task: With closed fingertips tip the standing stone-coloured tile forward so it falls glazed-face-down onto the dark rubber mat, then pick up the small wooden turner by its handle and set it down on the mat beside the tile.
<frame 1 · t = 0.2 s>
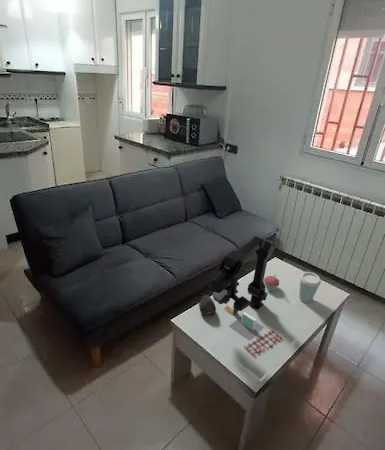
hand: (226, 309, 137), 14 cm above the table, fingers open, 9 cm apart
cupcake: (270, 288, 175), on the table
red lattice rack: (262, 346, 139), on the table
mat: (246, 327, 147), on the table
turner: (234, 314, 154), on the table
disposable coffee cup: (304, 299, 168), on the table
stone: (206, 312, 155), on the table
tile: (247, 325, 147), point 1 cm above the table, touching mat
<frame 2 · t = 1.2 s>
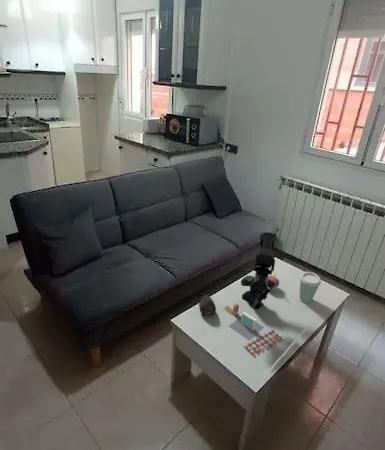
hand: (255, 304, 146), 11 cm above the table, fingers open, 5 cm apart
nothing on the table moved.
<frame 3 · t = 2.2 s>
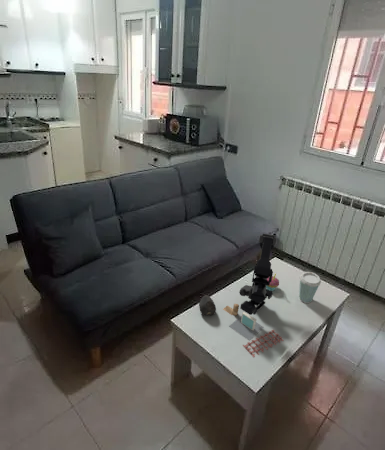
hand: (254, 313, 148), 5 cm above the table, fingers closed
nothing on the table moved.
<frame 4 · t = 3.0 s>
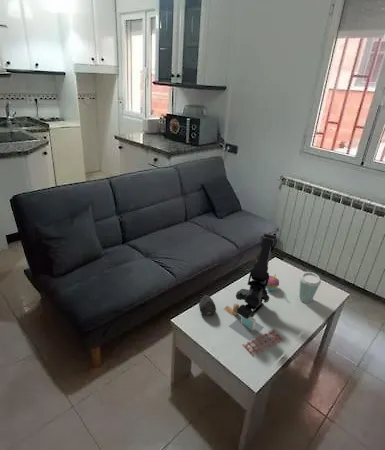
hand: (250, 317, 147), 5 cm above the table, fingers closed
nothing on the table moved.
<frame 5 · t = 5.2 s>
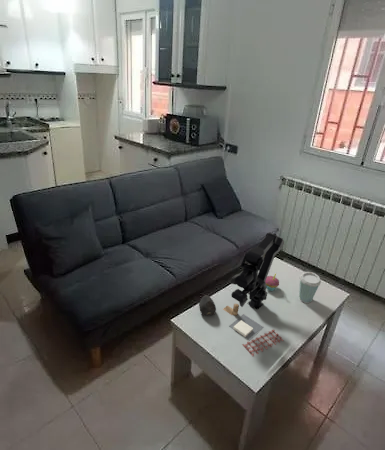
hand: (246, 302, 146), 11 cm above the table, fingers open, 7 cm apart
tile: (246, 325, 146), point 1 cm above the table, tilted 90°, touching mat
everything else where it was.
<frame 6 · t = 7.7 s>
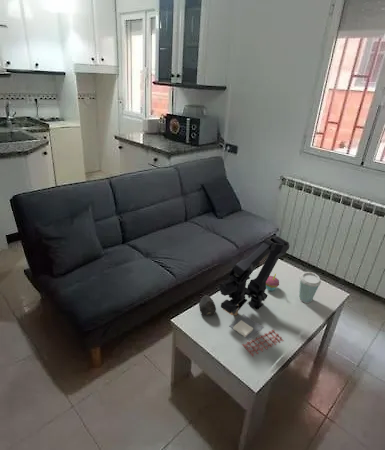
hand: (235, 312, 154), 2 cm above the table, fingers closed on turner, 3 cm apart
turner: (234, 314, 154), on the table, touching gripper
everything else where it was.
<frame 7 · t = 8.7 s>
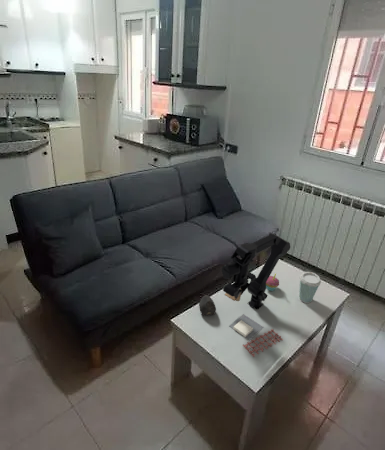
hand: (237, 296, 149), 11 cm above the table, fingers closed on turner, 3 cm apart
turner: (237, 299, 150), point 10 cm above the table, touching gripper
everything else where it was.
when the fingers open (4 cm above the table, at t = 11.1 s): turner drops 1 cm, resting on mat.
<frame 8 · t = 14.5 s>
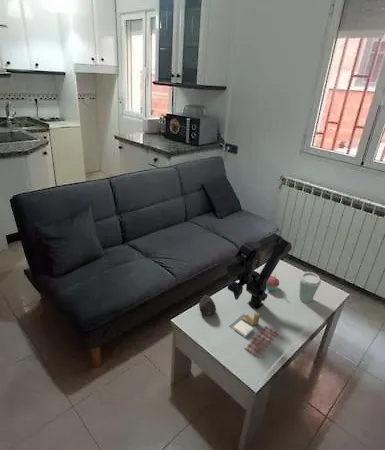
hand: (241, 295, 150), 12 cm above the table, fingers open, 9 cm apart
turner: (255, 324, 149), point 1 cm above the table, touching mat
at the end: tile tilted 90°; turner 0.3 cm from the target spot, point 0.6 cm above the table; turner tilted 0° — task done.
